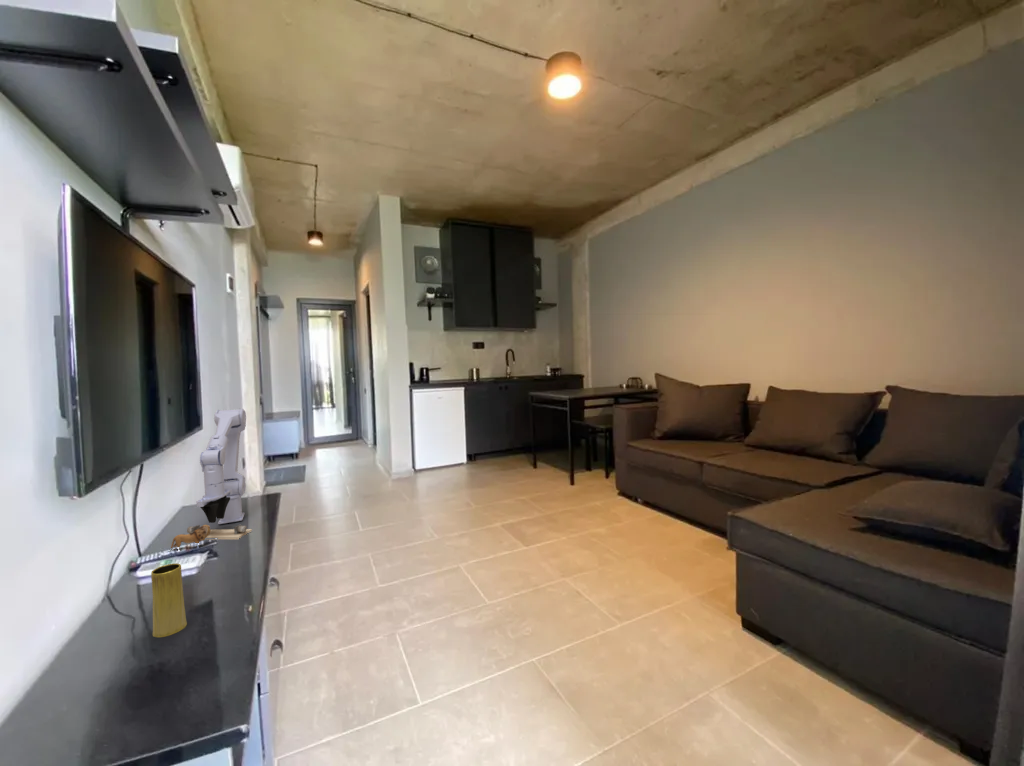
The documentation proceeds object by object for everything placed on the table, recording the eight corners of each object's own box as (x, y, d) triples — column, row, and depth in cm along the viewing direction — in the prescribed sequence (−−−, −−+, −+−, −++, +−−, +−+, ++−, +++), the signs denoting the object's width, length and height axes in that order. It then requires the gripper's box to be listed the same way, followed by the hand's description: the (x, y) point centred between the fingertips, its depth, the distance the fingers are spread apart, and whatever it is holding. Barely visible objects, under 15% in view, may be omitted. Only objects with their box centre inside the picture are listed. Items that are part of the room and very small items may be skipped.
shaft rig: (196, 532, 155) (196, 522, 154) (252, 531, 154) (251, 522, 153) (181, 540, 148) (180, 530, 147) (238, 539, 147) (238, 529, 146)
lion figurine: (212, 543, 144) (210, 522, 144) (210, 547, 141) (209, 526, 140) (167, 551, 138) (166, 529, 138) (165, 556, 135) (163, 534, 134)
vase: (145, 640, 92) (141, 576, 91) (163, 623, 98) (159, 564, 97) (177, 636, 93) (173, 573, 92) (192, 619, 99) (189, 560, 98)
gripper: (218, 477, 157) (220, 513, 158) (186, 489, 143) (189, 528, 143) (236, 477, 157) (238, 513, 157) (206, 488, 142) (209, 527, 143)
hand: (216, 520), depth 150 cm, fingers open, 3 cm apart
